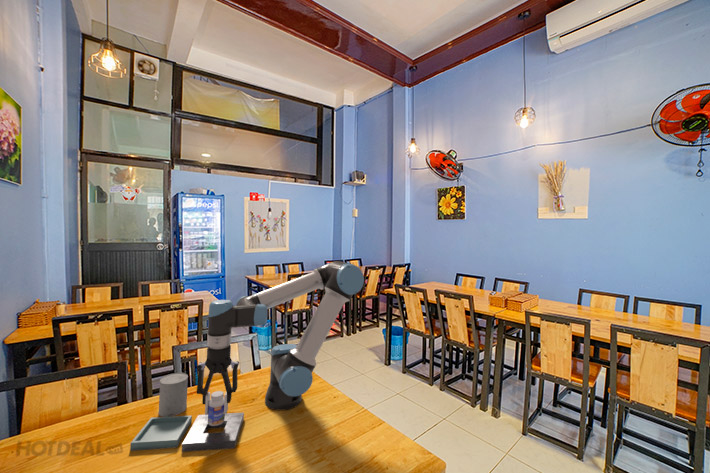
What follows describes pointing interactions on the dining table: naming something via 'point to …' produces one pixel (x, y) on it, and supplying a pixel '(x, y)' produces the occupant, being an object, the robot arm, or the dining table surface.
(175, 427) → the tray
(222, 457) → the dining table surface
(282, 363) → the robot arm
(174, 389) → the gray cylinder
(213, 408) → the pill bottle
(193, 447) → the socket plate
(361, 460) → the dining table surface
